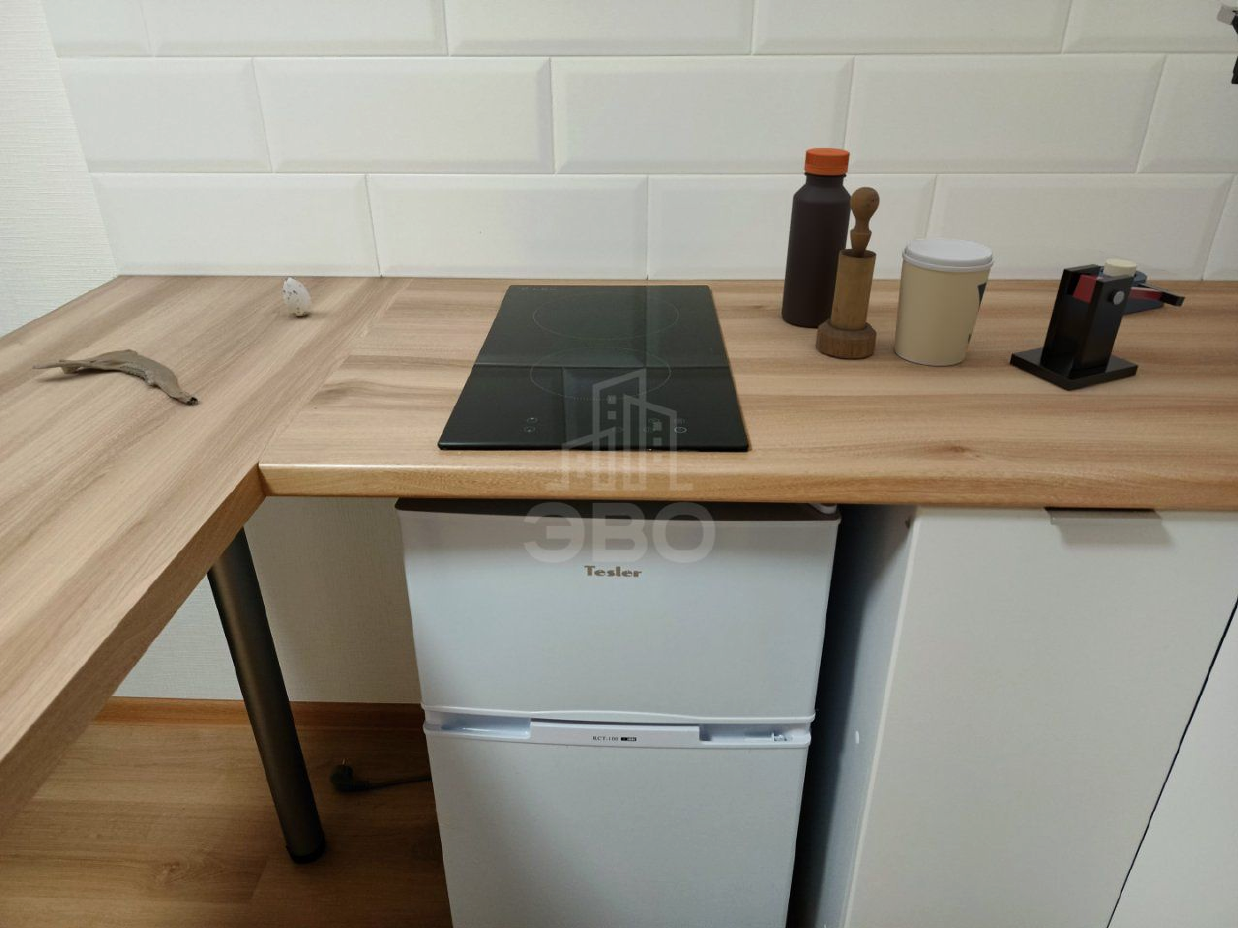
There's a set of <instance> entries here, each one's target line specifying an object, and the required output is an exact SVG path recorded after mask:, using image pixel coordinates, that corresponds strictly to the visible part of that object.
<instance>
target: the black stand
mask: <svg viewBox="0 0 1238 928" xmlns="http://www.w3.org/2000/svg"><path fill="white" fill-rule="evenodd" d="M1101 266H1102V265H1099V264H1095V263H1092V264H1084V265H1078V266H1071V267H1065V268H1063V269H1062V273H1061V278H1060V282H1059V284H1058V289H1057V293H1056V296H1055V299H1054V303H1053V309H1052V312H1051V316H1050V320H1049V323H1048V327H1047V331H1046V334H1045V339H1044V343H1043V346H1042V347H1037V348H1033V349H1028V350H1022V351H1017V352H1012V353H1011V355H1010V359H1009V365H1012V366H1014V367H1015V368H1019V369H1020V370H1023V371H1025V372H1027V373H1029V374H1031V375H1033V376H1035V377H1038V378H1039V379H1041V380H1044V381H1047V382H1048V383H1050V384H1052V385H1055V386H1057V387H1059V388H1061V389H1064V390H1065V391H1068V392H1069V391H1074V390H1079V389H1083V388H1086V387H1091V386H1095V385H1100V384H1103V383H1109V382H1112V381H1116V380H1121V379H1126V378H1131V377H1135V376H1136V375H1137V372H1138V369H1139V364H1137V363H1136V362H1132V361H1130V360H1127V359H1124V358H1122V357H1120V356H1117V355H1115V354H1112V353H1113V349H1114V347H1115V343H1116V340H1117V337H1118V334H1119V330H1120V327H1121V323H1122V320H1123V317H1124V315H1125V314H1124V310H1125V307H1126V304H1127V301H1128V297H1129V294H1130V291H1131V287H1132V284H1133V281H1134V276H1130V275H1127V274H1126V275H1120V276H1114V277H1109V278H1103V279H1097V280H1096V283H1095V286H1094V290H1093V293H1092V297H1091V300H1090V303H1088V302H1085V301H1082V300H1079V299H1077V298H1074V297H1072V296H1073V294H1074V291H1075V289H1076V286H1077V284H1078V281H1079V279H1080V276H1081V275H1091V276H1099V272H1100V269H1101ZM1123 314H1124V315H1123Z"/></svg>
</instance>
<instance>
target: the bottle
mask: <svg viewBox="0 0 1238 928" xmlns="http://www.w3.org/2000/svg"><path fill="white" fill-rule="evenodd" d="M850 157H851V152H850V151H849V150H846V149H842V148H833V147H814V148H808V149H807V150H806V151H805V158H804V167H803V170H804V173H803V176H805V183H804V184H803V185H802V186H800V188H799V189H798V190H797V191H796V192H795V193H794V194H793V195H792V203H791V204H792V205H791V212H790V213H791V214H790V222H789V223H790V224H789V231H788V233H789V234H788V244H787V254H786V264H785V273H784V281H783V282H784V283H783V293H782V302H781V318H782V319H783V320H784V321H785V322H787V323H789V324H791V325H795V326H798V327H804V328H805V327H806V328H818V327H819V325H820V324H822V323H824V322H825V321H826V320H828V319H830V318H831V314H832V307H833V300H834V293H835V285H836V278H837V270H838V261H839V253H840V251H841V250H844V249H847V243H848V242H847V241H848V235H849V227H850V221H851V220H850V219H851V214H852V213H851V212H852V210H851V207H850V199H851V196H852V194H850V192H849V191H848V190H847V189H846V187H845V186H844V181H845V178H847V176H848V175H847V173H848V171H849V164H850Z"/></svg>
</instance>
